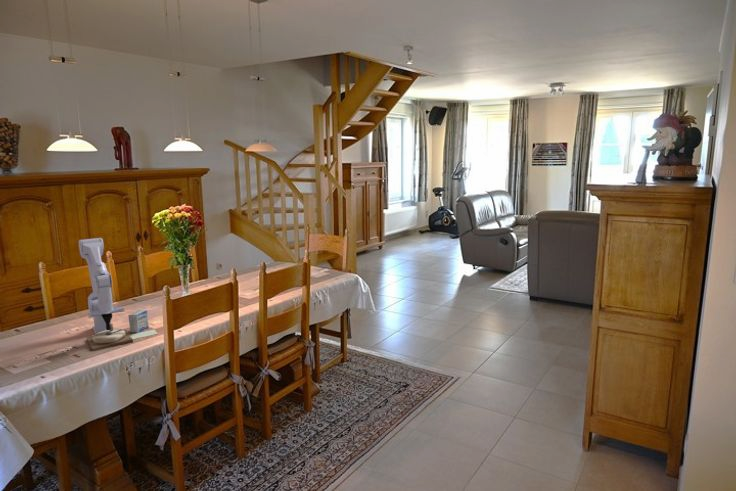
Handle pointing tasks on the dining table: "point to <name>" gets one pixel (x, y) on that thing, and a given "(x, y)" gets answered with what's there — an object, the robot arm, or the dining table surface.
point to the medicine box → (138, 321)
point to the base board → (105, 345)
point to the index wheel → (109, 335)
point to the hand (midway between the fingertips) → (108, 329)
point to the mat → (143, 334)
